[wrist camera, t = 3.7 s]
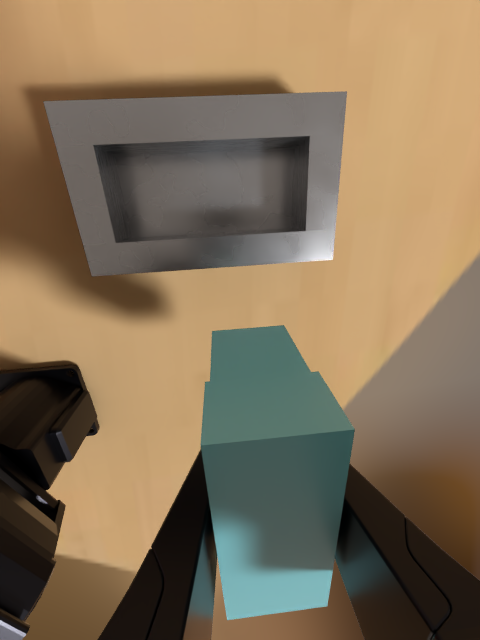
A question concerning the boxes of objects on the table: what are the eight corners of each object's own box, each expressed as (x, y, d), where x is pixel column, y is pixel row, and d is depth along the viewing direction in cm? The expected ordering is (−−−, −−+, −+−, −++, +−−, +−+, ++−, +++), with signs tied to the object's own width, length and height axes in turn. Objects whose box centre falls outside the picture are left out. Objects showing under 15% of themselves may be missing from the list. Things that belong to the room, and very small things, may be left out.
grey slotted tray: (115, 263, 17) (91, 276, 14) (82, 126, 14) (43, 101, 11) (311, 250, 18) (332, 259, 15) (318, 117, 15) (347, 91, 12)
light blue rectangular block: (284, 450, 13) (327, 605, 8) (223, 457, 13) (227, 620, 8) (286, 320, 10) (354, 429, 5) (209, 326, 10) (200, 445, 5)
